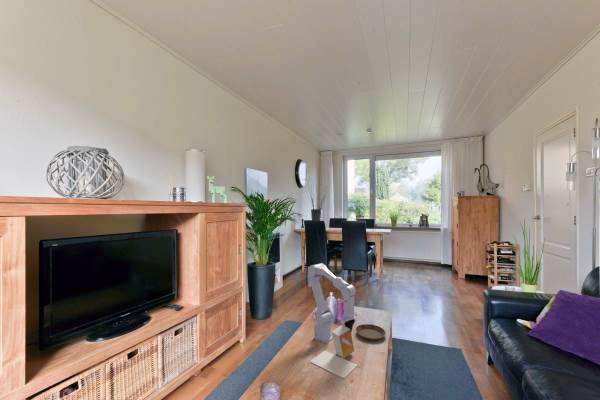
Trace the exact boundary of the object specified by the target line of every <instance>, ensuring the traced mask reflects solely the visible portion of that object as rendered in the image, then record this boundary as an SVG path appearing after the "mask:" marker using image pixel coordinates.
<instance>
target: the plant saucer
mask: <svg viewBox="0 0 600 400" xmlns="http://www.w3.org/2000/svg"><path fill="white" fill-rule="evenodd" d="M355 331H356V333H357V335H358V336H359V337H360V338H361V339H363V340H366V341H369V342H378V341H381V340H382V339H384V338H385V336H386V333H387V332H386V330H385V329H384V328H383V327H381V326H378V325H375V324H371V323H364V324H363V323H362V324H360V325H357V327H356V328H355Z"/></svg>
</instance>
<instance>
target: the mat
mask: <svg viewBox="0 0 600 400" xmlns="http://www.w3.org/2000/svg"><path fill="white" fill-rule="evenodd" d="M309 362H310V363H311V364H313V365H315V366H317V367H319V368H321V369H323V370H325V371H327V372H329V373H331V374H333V375H336V376H338V377H339V378H341V379H343V380H344V379H346V378H347V376H348V375H350V374H351V373H352V372H353V371H354V370H355V369H356V368H357V367H358V364H356V363H354V362H351V361H350V360H347V359H346V358H344V359H343V358H342V357H340V356H339V355H337V354H334V353H331V352H329V351H326V350H323V351H322V352H321V353H319V354H318V355H316V356H315V357H314V358H313V359H311V360H310V361H309Z"/></svg>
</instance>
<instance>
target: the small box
mask: <svg viewBox="0 0 600 400" xmlns="http://www.w3.org/2000/svg"><path fill="white" fill-rule="evenodd" d="M331 335H332V336H331V337H333V339H332V340H333V345H334V350H335V355H337V356H338V357H341V358H343V359H346V358H347V357H348V356H350V355H351V354H352V353H354V352H355V348H354V342H353V336H352V332H351V331H350V329H349V328H347V327H346V326H345V325H343V324H341V325H340V326H338V327H336V328H335V329H334V330H332V331H331Z"/></svg>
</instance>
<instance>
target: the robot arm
mask: <svg viewBox="0 0 600 400" xmlns="http://www.w3.org/2000/svg"><path fill="white" fill-rule="evenodd" d="M307 272H308V276H309V281H310V285H311V290H312V293H313V296H314V301H315V304H316V310H315V312H314V314H315V322H314V323H315V324H314V326H313V330H314V331H313V332H314V333H313V334H314V335H313V339H315V340H317V341H319V342H322V343H324V344H327V343H329V342H330V341H331V340H333V336H331V335H332V331H331V328H332V327H331V324H332V321H333V319H334V314H333V312H332V310H331V308H330V307H329V306H327V305H326V301H325V296H324V294H323V293H324V292H323V289H322V286H321V283H320V279H321V277H322V276H324V277H325V278H327V279H328V280H330V282H332V286H334V287H335V288H336V289H337V290H338V291H340V292H341V293H340V294H341V295H342V300H343V315H342V317H341V319H340V324H341V325H344V326H346V327H347V328H349V329H350V331H351V333H352V330H353V327H354V324H355V322H356V320H357V316H358V312H357V311H355V295H356V294H357V288H356V286H354V285H353V284H349V283H348V282H346V281H345V280H344V279H343V278H342V277H341V276H340V277H339V276H336V275H334V273H333V272H331V270H329V269H328V267H327V265H325V264H324V263H323V262H320V263H317V264H311V265H310V266H309V267H308V269H307Z"/></svg>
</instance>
